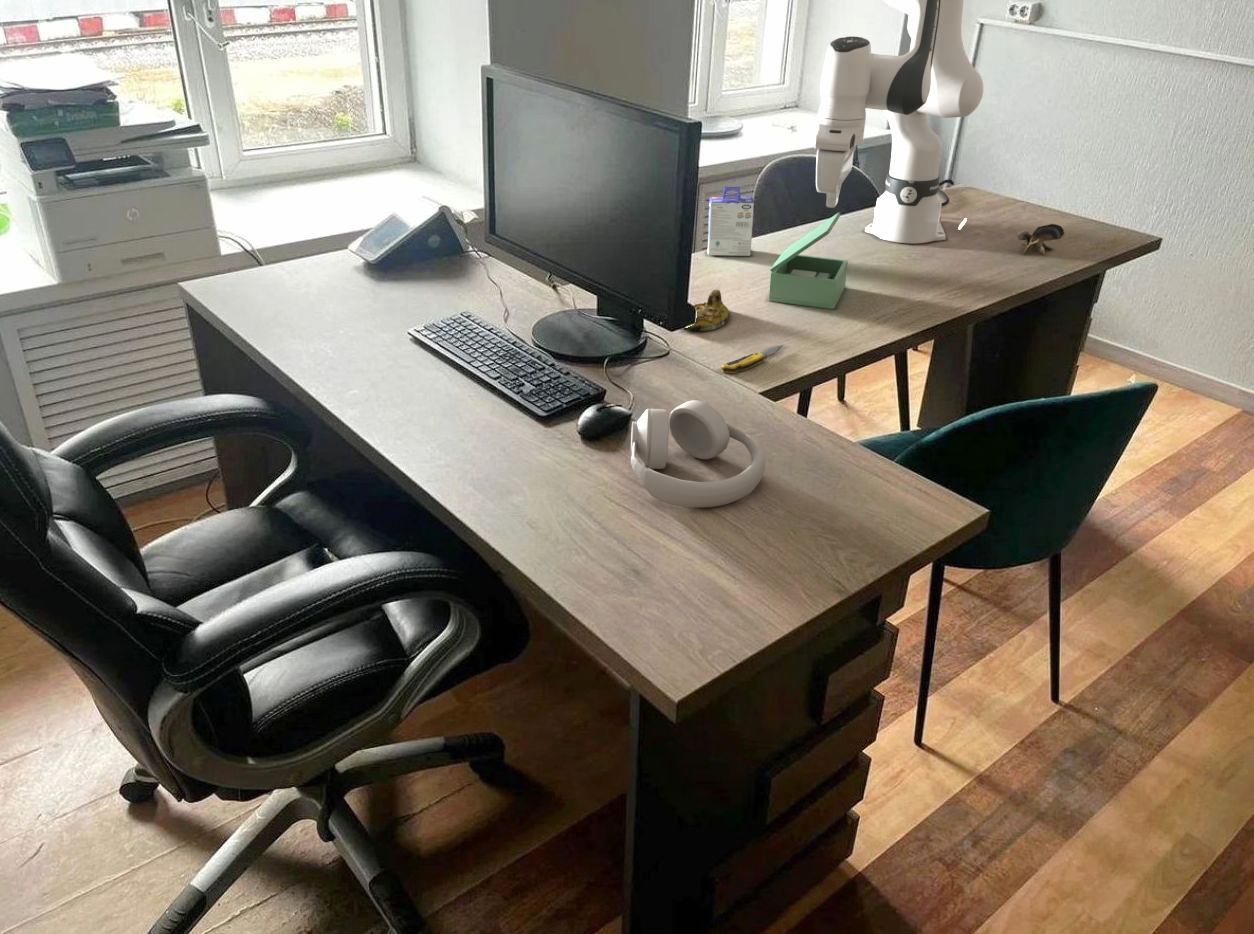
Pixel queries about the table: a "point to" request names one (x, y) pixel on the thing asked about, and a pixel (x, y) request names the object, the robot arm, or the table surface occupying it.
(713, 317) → the seal
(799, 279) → the green box
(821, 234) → the cover
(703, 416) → the headphones
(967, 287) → the table surface
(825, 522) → the table surface
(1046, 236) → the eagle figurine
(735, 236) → the ink cartridge box
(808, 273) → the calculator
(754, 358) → the utility knife
